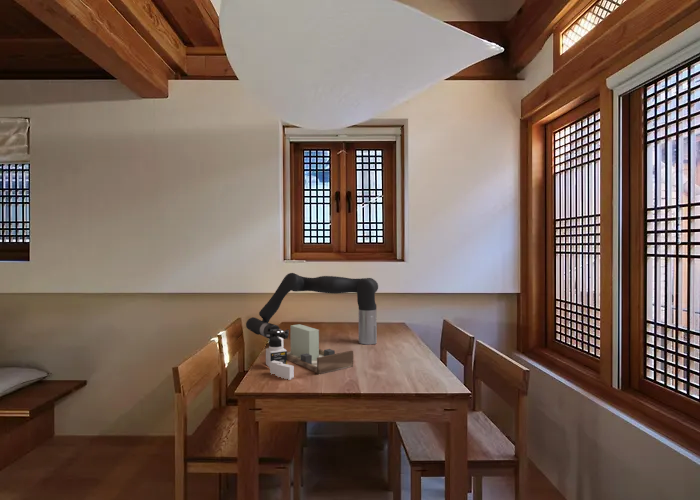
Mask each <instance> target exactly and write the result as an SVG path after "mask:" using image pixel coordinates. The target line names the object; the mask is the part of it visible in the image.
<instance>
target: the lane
mask: <svg viewBox="0 0 700 500" xmlns="http://www.w3.org/2000/svg"><path fill="white" fill-rule="evenodd" d="M287 361H290V362H292V363H294V364H296V365H298V366H301V367H303V368H305V369H308V370H310V371H312V372H314V373H315V374H317V375H318V374H320V375H323V374H328V373H331V372H336V370H337V371H340V370H344V369H345V370H346V369H348V368H349V369H350V368H352V367H353V368H354V350H348V351H344V352H337V353H335V354H332V355H328V356H324V349H321V348H319V357H318V358H317V360H313V361H312V364H309V363H307V362H305V361H302V360H301V358H300V357H298V356H296V355H293V354H291V351H287Z"/></svg>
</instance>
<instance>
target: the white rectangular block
mask: <svg viewBox="0 0 700 500" xmlns="http://www.w3.org/2000/svg"><path fill="white" fill-rule="evenodd" d="M294 366H295V365H291V364H288V363H287V364H283V362H279V361H275V360H274V361H271V362H270V368H269V374H270V373H271V374H270V375H272V374H275V375H274V376H278V377H277V378H279V377H281V378H280V379H283V378H284V380H287V379H288V381H291V380H294V378H295V377H294V376H295V373H294V372H295V369H294V368H295V367H294Z"/></svg>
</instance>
